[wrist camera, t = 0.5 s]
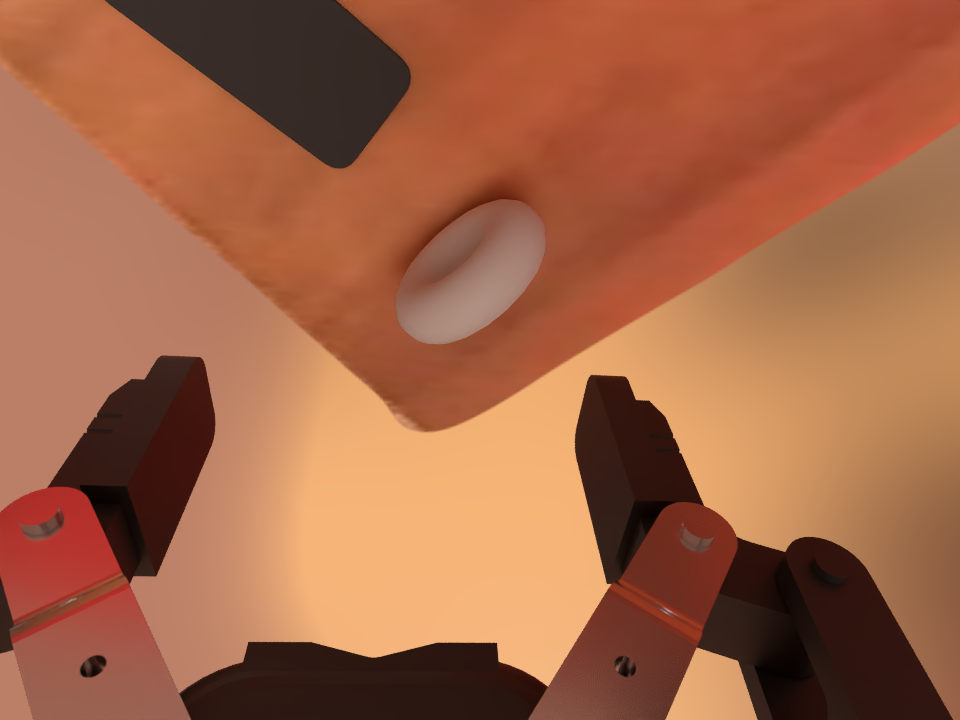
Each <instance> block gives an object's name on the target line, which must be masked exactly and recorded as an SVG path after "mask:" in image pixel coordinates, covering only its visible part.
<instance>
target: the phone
mask: <svg viewBox="0 0 960 720" xmlns="http://www.w3.org/2000/svg"><path fill="white" fill-rule="evenodd" d="M105 1H106V2H108V3H109V4H110V5H111V6H113V7H114V8H115V9H117V10H118V11H119V12H121V13H122V14H123V15H125V16H126V17H127V18H129V19H130V20H131V21H133V22H134V23H135V24H137V25H138V26H140V27H141V28H142V29H144V30H145V31H146V32H148V33H149V34H150V35H152V36H153V37H154V38H156V39H157V40H158V41H160V42H161V43H163V44H164V45H165V46H167V47H168V48H169V49H171V50H172V51H173V52H175V53H176V54H177V55H179V56H180V57H181V58H183V59H184V60H185V61H187V62H188V63H190V64H191V65H192V66H194V67H195V68H196V69H198V70H199V71H200V72H202V73H203V74H204V75H206V76H207V77H208V78H210V79H211V80H213V81H214V82H215V83H217V84H218V85H219V86H221V87H222V88H223V89H225V90H226V91H227V92H229V93H230V94H231V95H233V96H234V97H236V98H237V99H238V100H240V101H241V102H242V103H244V104H245V105H246V106H248V107H249V108H250V109H252V110H253V111H254V112H256V113H257V114H258V115H260V116H261V117H263V118H264V119H265V120H267V121H268V122H269V123H271V124H272V125H273V126H275V127H276V128H277V129H279V130H280V131H281V132H283V133H284V134H286V135H287V136H288V137H290V138H291V139H292V140H294V141H295V142H296V143H298V144H299V145H300V146H302V147H303V148H304V149H306V150H307V151H309V152H310V153H311V154H313V155H314V156H315V157H317V158H318V159H319V160H321V161H322V162H324V163H325V164H327V165H329V166H331V167H334V168H345V167H347V166H349V165H350V164H352V163H353V162H354V161H355V159H356V158H357V157H358V156H359V154H360V153H361V152H362V150H363V149H364V148H365V146H366V145H367V144H368V142H369V141H370V140H371V138H372V137H373V136H374V134H375V133H376V132H377V130H378V129H379V128H380V126H381V125H382V124H383V122H384V121H385V120H386V118H387V117H388V116H389V114H390V113H391V112H392V110H393V109H394V108H395V106H396V105H397V104H398V102H399V101H400V100H401V98H402V97H403V96H404V94H405V93H406V91H407V89H408V87H409V84H410V71H409V68H408V66H407V65H406V63H405V62H404V60H403V59H402V58H401V57H400V56H399V55H398V54H397V53H395V52H394V51H393V50H392V49H391V48H390V47H389V46H387V45H386V44H385V43H384V42H383V41H382V40H381V39H379V38H378V37H377V36H376V35H375V34H374V33H373V32H371V31H370V30H369V29H368V28H367V27H366V26H365V25H364V24H362V23H361V22H360V21H359V20H358V19H357V18H356V17H354V16H353V15H352V14H351V13H350V12H349V11H348V10H346V9H345V8H344V7H343V6H342V5H341V4H340V3H338V2H337V1H336V0H105Z"/></svg>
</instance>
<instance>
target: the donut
mask: <svg viewBox="0 0 960 720" xmlns="http://www.w3.org/2000/svg"><path fill="white" fill-rule="evenodd" d="M545 249H546V231H545V225H544V223H543V221H542V219H541V218H540V216H539V215H538V214H537V213H536V212H535V211H534V210H533V209H532V208H531V207H530V206H529V205H528V204H526V203H524V202H522V201H519V200H509V199H498V200H495V201H491V202H488V203H485V204H482V205H480V206H478V207H476V208H474V209H472V210H470V211H468V212H466V213H464V214H463V215H462V216H460V217H459V218H457V219H456V220H454V221H453V222H451V223H450V224H449V225H448V226H447V227H445V228H444V229H443V230H442V231H441V232H439V233H438V234H437V235H436V236H435V237H434V238H433V239H432V240H431V241H430V242H429V243H428V244H427V245H426V246H425V247H424V248H423V249H422V250H421V251H420V253H419V254H418V255H417V257H416V258H415V259H414V260H413V262H412V263H411V264H410V266H409V268H408V269H407V271H406V273H405V274H404V276H403V278H402V280H401V282H400V284H399V287H398V290H397V294H396V297H395V308H396V316H397V319H398V322H399V324H400V326H401V327H402V328H403V330H404V331H405V332H407V333H408V334H409V335H411V336H412V337H413V338H415V339H416V340H418V341H419V342H423V343H426V344H447V343H452V342H454V341H457V340H460V339H463V338H466V337H468V336H470V335H472V334H473V333H475V332H477V331H479V330H480V329H482V328H484V327H486V326H487V325H489V324H490V323H491V322H492V321H494V320H495V319H496V318H497V317H499V316H500V315H501V314H502V313H504V312H505V311H506V310H507V309H508V308H509V307H510V306H511V305H512V304H513V303H514V302H515V301H516V300H517V299H518V298H519V296H520V295H521V294H522V293H523V292H524V291H525V290H526V288H527V287H528V285H529V284H530V282H531V281H532V279H533V278H534V276H535V275H536V273H537V272H538V270H539V267H540V265H541V262H542V260H543V257H544V254H545Z"/></svg>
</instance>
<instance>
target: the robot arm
mask: <svg viewBox="0 0 960 720" xmlns="http://www.w3.org/2000/svg"><path fill="white" fill-rule="evenodd" d="M214 434H215V413H214V408H213V403H212V398H211V394H210V388H209V383H208V378H207V372H206V367H205V364H204V361H203V359H202V358H200V357H184V356H160V357H159V358H158V359H157V360H156V362H155V364H154V365H153V367H152V368H151V370H150V372H149V373H148V375H147V377H146V378H145V380H140V379H139V380H138V379H131V380H130V381H128V382H127V383H126V384H124V385H123V386H122V387H120V388H119V389H117V390H116V391H115V392H113V393H112V394H111V395H109V397H108V398H107V400H106V401H105V403H104V404H103V406H102V407H101V409H100V410H99V412H98V413H97V417H95V418H94V420H93V421H92V422H91V424H90V425H89V427H88V428H87V433H84V434H83V436H82V437H81V438H80V440H79V441H78V443H77V444H76V446H75V448H74V449H73V450H72V452H71V454H70V455H69V456H68V458H67V459H66V461H65V462H64V464H63V465H62V467H61V468H60V470H59V471H58V473H57V474H56V476H55V477H54V479H53V480H52V482H51V483H50V485H49V486H48V488H45V489H41V490H38V491H34V492H31V493H29V494H27V495H24V496H22V497H20V498H19V499H17V500H15V501H13V502H12V503H11V504H9V505H8V506H7V507H5V508H4V509H3V510H2V511H1V512H0V653H4V652H7V651H11V650H14V652H15V656H16V660H17V663H18V667H19V670H20V674H21V678H22V681H23V685H24V689H25V692H26V696H27V699H28V703H29V706H30V710H31V713H32V717H33V720H665V719H666V717H667V715H668V712H669V710H670V708H671V705H672V703H673V701H674V698H675V696H676V694H677V692H678V689H679V687H680V685H681V682H682V680H683V678H684V675H685V673H686V670H687V668H688V666H689V664H690V661H691V659H692V657H693V654H694V652H695V650H696V648H700V649H703V650H706V651H710V652H713V653H716V654H719V655H722V656H725V657H728V658H731V659H734V660H738V662H739V665H740V668H741V671H742V674H743V677H744V680H745V682H746V685H747V689H748V692H749V695H750V698H751V701H752V704H753V707H754V710H755V713H756V716H757V719H758V720H953V719H952V717H951V716H950V714H949V712H948V710H947V708H946V707H945V705H944V703H943V701H942V700H941V698H940V696H939V694H938V693H937V691H936V689H935V687H934V686H933V684H932V682H931V680H930V679H929V677H928V675H927V673H926V672H925V670H924V668H923V666H922V665H921V663H920V661H919V660H918V658H917V656H916V654H915V653H914V651H913V649H912V647H911V645H910V644H909V642H908V640H907V639H906V637H905V635H904V633H903V631H902V630H901V628H900V626H899V625H898V623H897V621H896V619H895V618H894V616H893V614H892V612H891V610H890V609H889V607H888V605H887V603H886V602H885V600H884V598H883V596H882V595H881V593H880V591H879V589H878V588H877V586H876V584H875V582H874V581H873V579H872V577H871V575H870V574H869V572H868V570H867V569H866V567H865V566H864V565H863V564H862V563H861V562H860V560H859V559H857V558H856V557H855V556H854V555H853V554H852V553H850V552H849V551H848V550H846V549H845V548H843V547H841V546H839V545H837V544H835V543H833V542H831V541H828V540H825V539H821V538H816V537H803V538H799V539H797V540H795V541H793V542H792V543H791V544H790V545H789V547H788V548H787V550H786V552H783V551H779V550H776V549H772V548H769V547H765V546H762V545H758V544H755V543H751V542H748V541H745V540H743V539H740V538H738V537H736V534H735V532H734V530H733V528H732V527H731V525H730V524H729V523H728V522H727V521H726V520H725V519H724V518H723V517H722V516H720V515H719V514H718V513H716V512H715V511H713V510H711V509H710V508H707V507H705V506H704V505H703V502H702V500H701V498H700V495H699V493H698V491H697V488H696V486H695V484H694V482H693V479H692V477H691V475H690V472H689V470H688V468H687V466H686V463H685V461H684V459H683V457H682V454H681V453H679V447H678V445H677V443H676V440H675V439H674V438H673V433H672V431H671V429H670V427H669V424H668V422H667V420H666V418H665V416H664V415H663V414H662V413H661V412H660V411H659V410H658V409H657V408H656V407H655V406H654V405H653V404H652V403H651V402H650V401H642V400H636V399H635V397H634V394H633V392H632V389H631V386H630V384H629V381H628V379H627V378H626V377H623V376H601V375H591V376H590V377H589V379H588V381H587V385H586V389H585V393H584V398H583V402H582V406H581V410H580V415H579V419H578V424H577V428H576V434H575V452H576V459H577V463H578V466H579V471H580V475H581V479H582V483H583V487H584V491H585V496H586V500H587V504H588V508H589V512H590V516H591V520H592V524H593V528H594V533H595V537H596V540H597V545H598V549H599V553H600V557H601V561H602V565H603V570H604V573H605V578H606V582H607V584H611V586H610V587H609V589H608V590H607V592H606V593H605V595H604V597H603V598H602V600H601V602H600V603H599V605H598V607H597V608H596V610H595V612H594V613H593V615H592V616H591V618H590V620H589V621H588V623H587V624H586V626H585V628H584V629H583V631H582V633H581V634H580V636H579V638H578V639H577V641H576V642H575V644H574V646H573V647H572V649H571V651H570V652H569V654H568V656H567V657H566V659H565V660H564V662H563V664H562V665H561V667H560V669H559V670H558V672H557V673H556V675H555V677H554V678H553V680H552V682H551V683H550V685H549V687H548V686H546V685H545V684H543V683H542V682H540V681H539V680H538V679H536V678H535V677H533V676H531V675H530V674H527V673H526V672H524V671H522V670H520V669H517V668H515V667H512V666H510V665H507V664H503V663H500V662H498V650H497V643H434V644H430V645H426V646H422V647H418V648H414V649H410V650H407V651H403V652H398V653H394V654H390V655H386V656H382V657H377V658H371V657H366V656H362V655H358V654H354V653H350V652H346V651H343V650H339V649H335V648H331V647H327V646H324V645H320V644H316V643H312V642H248V646H247V650H246V654H245V658H244V661H243V662H242V663H239V664H235V665H232V666H229V667H227V668H223V669H221V670H218V671H216V672H214V673H212V674H210V675H208V676H206V677H204V678H202V679H200V680H198V681H197V682H195V683H194V684H192V685H190V686H189V687H187V688H186V689H185V690H183V691H182V692H180V693H179V692H178V690H177V688H176V686H175V683H174V681H173V679H172V677H171V675H170V673H169V670H168V668H167V666H166V664H165V662H164V659H163V657H162V655H161V653H160V650H159V648H158V646H157V644H156V642H155V639H154V637H153V635H152V633H151V631H150V628H149V626H148V624H147V622H146V620H145V617H144V615H143V613H142V611H141V609H140V606H139V604H138V602H137V600H136V598H135V595H134V593H133V591H132V589H131V587H130V582H131V580H132V578H133V576H157V573H158V571H159V569H160V566H161V564H162V562H163V559H164V557H165V554H166V552H167V550H168V547H169V545H170V543H171V540H172V538H173V535H174V533H175V531H176V528H177V526H178V524H179V521H180V519H181V517H182V514H183V512H184V510H185V507H186V505H187V502H188V500H189V498H190V495H191V493H192V491H193V488H194V486H195V484H196V481H197V479H198V476H199V474H200V472H201V469H202V467H203V465H204V462H205V460H206V458H207V455H208V453H209V450H210V448H211V446H212V443H213V439H214Z"/></svg>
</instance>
